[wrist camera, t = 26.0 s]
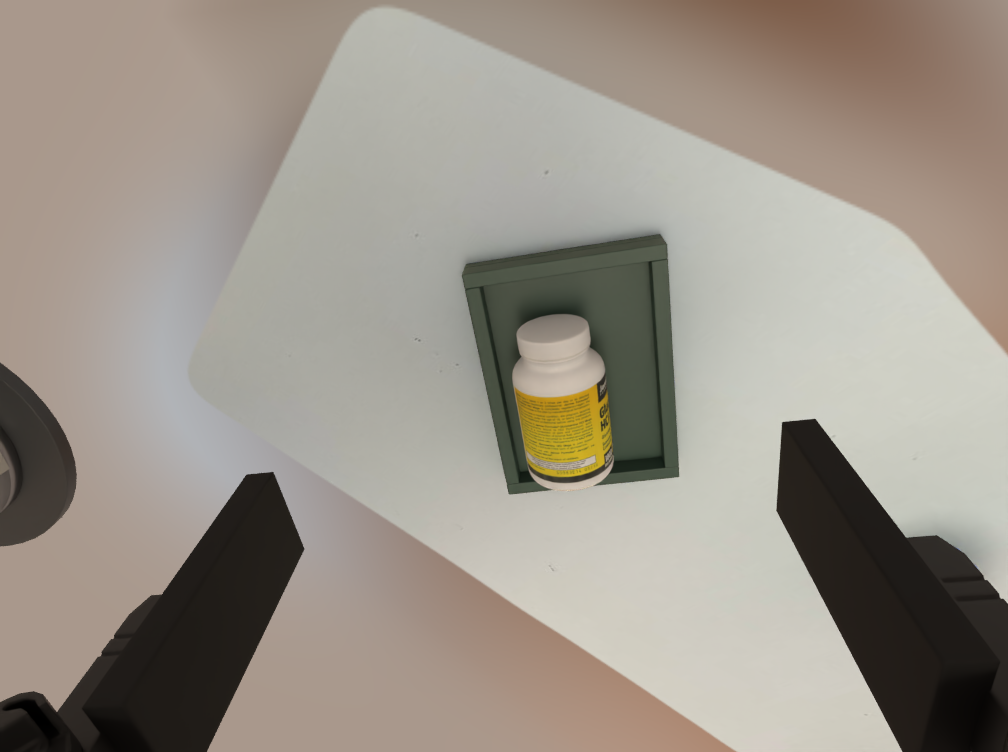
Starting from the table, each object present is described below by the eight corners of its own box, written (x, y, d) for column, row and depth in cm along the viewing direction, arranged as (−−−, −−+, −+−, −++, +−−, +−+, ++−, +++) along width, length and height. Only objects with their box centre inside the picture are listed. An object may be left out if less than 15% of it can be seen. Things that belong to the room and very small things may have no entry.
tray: (465, 264, 41) (461, 274, 39) (660, 233, 39) (666, 243, 37) (510, 476, 49) (508, 494, 47) (673, 459, 47) (679, 477, 45)
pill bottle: (626, 484, 41) (613, 336, 36) (537, 503, 41) (511, 357, 36) (601, 435, 46) (587, 302, 41) (523, 452, 46) (499, 319, 41)
